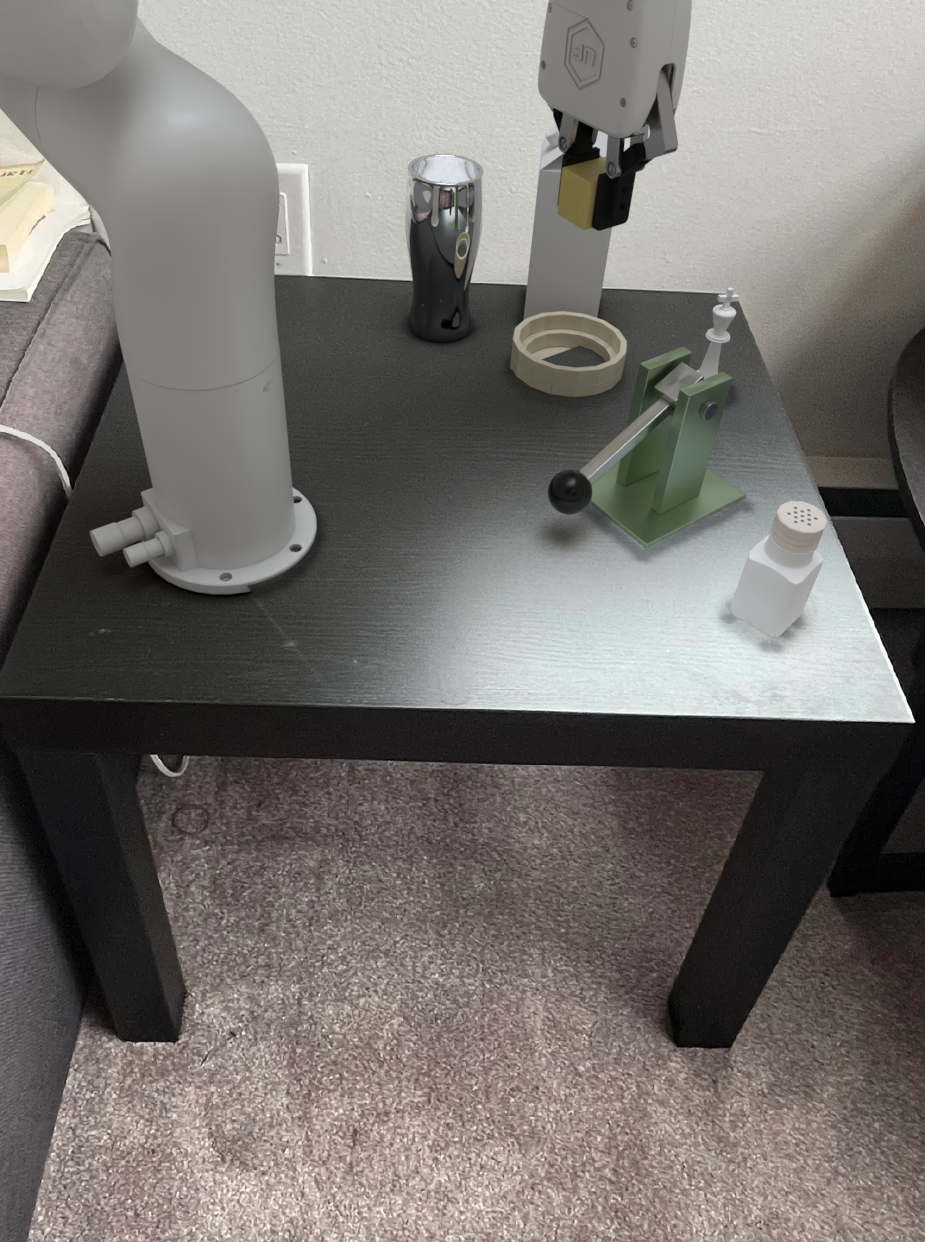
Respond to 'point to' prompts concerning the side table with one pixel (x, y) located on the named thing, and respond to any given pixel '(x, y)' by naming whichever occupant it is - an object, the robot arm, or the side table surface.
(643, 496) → the green lever stand
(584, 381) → the beige bottomless ring
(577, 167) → the butter
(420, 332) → the beer glass
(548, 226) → the milk carton
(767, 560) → the pepper shaker
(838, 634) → the side table surface
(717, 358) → the chess piece
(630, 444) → the lever
